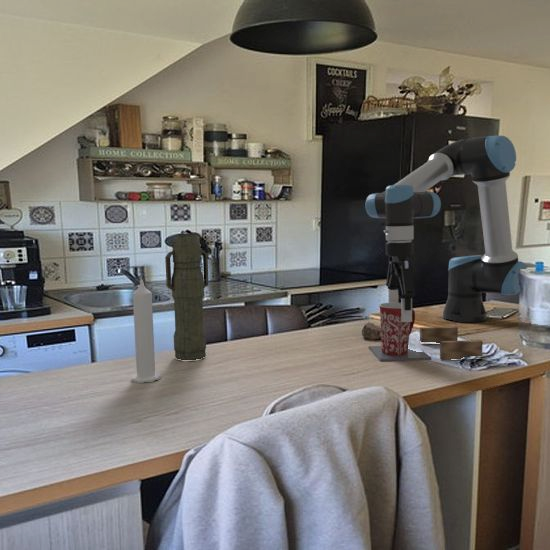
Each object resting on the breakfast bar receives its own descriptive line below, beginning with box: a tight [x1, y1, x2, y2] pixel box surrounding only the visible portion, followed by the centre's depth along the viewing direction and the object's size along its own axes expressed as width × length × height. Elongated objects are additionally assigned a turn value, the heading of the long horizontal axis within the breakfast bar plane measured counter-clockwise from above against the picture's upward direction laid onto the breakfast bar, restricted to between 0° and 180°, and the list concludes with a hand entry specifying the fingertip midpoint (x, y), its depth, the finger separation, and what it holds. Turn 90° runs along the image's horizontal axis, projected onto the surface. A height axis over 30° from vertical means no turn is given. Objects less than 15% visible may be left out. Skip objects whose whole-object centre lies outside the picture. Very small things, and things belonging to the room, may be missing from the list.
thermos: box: [165, 233, 209, 360], centre depth 155 cm, size 9×12×35 cm
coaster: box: [368, 345, 432, 362], centre depth 157 cm, size 14×14×1 cm
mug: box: [378, 302, 416, 355], centre depth 156 cm, size 13×9×14 cm
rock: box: [361, 322, 381, 341], centre depth 177 cm, size 9×6×10 cm
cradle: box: [419, 325, 484, 362], centre depth 158 cm, size 11×19×5 cm, turn 3°
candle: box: [131, 279, 162, 384], centre depth 136 cm, size 7×7×25 cm
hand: (399, 316), depth 156 cm, fingers open, 13 cm apart
